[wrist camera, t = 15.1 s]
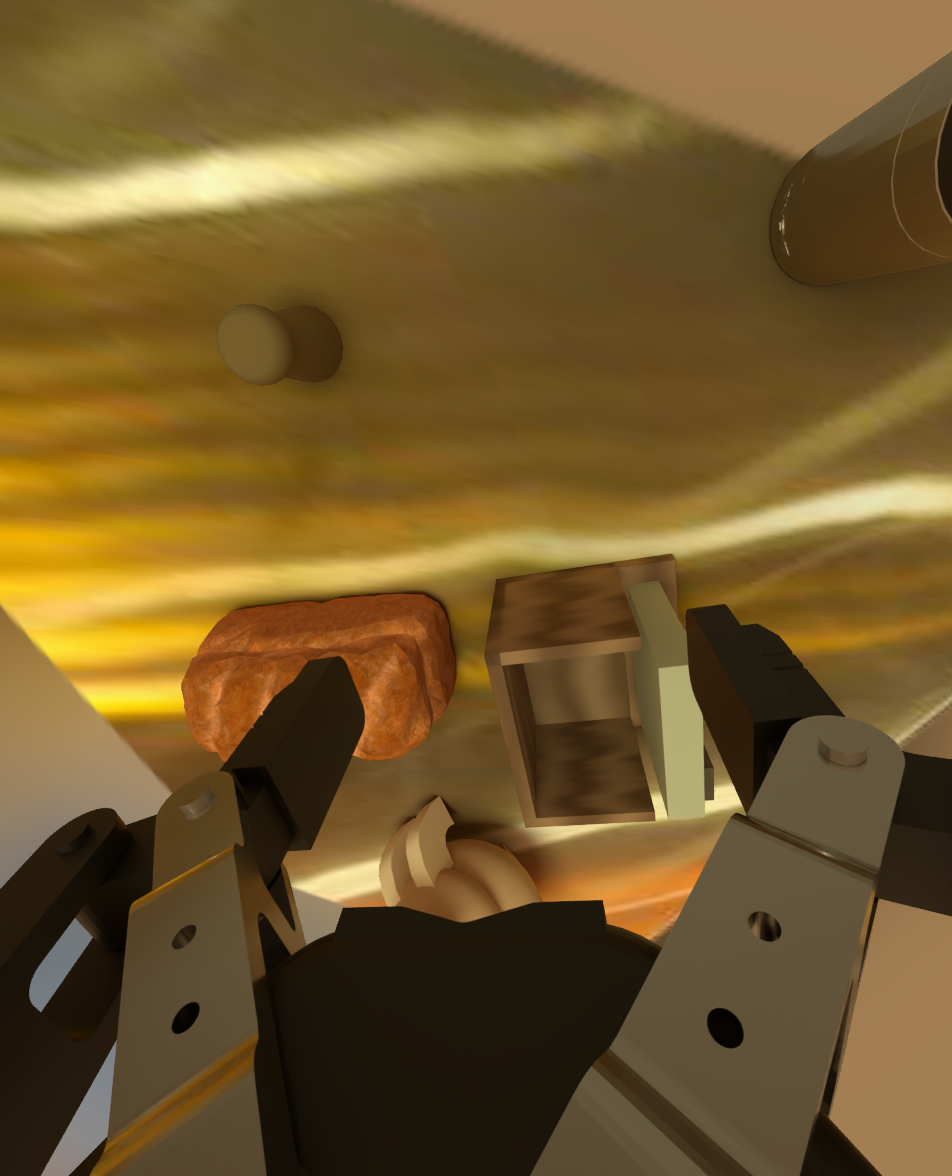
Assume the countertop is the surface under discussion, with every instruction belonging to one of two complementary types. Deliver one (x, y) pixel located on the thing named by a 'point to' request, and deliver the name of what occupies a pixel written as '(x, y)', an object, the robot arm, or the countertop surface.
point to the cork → (279, 344)
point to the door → (668, 702)
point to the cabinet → (574, 691)
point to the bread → (319, 630)
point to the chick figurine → (451, 871)
